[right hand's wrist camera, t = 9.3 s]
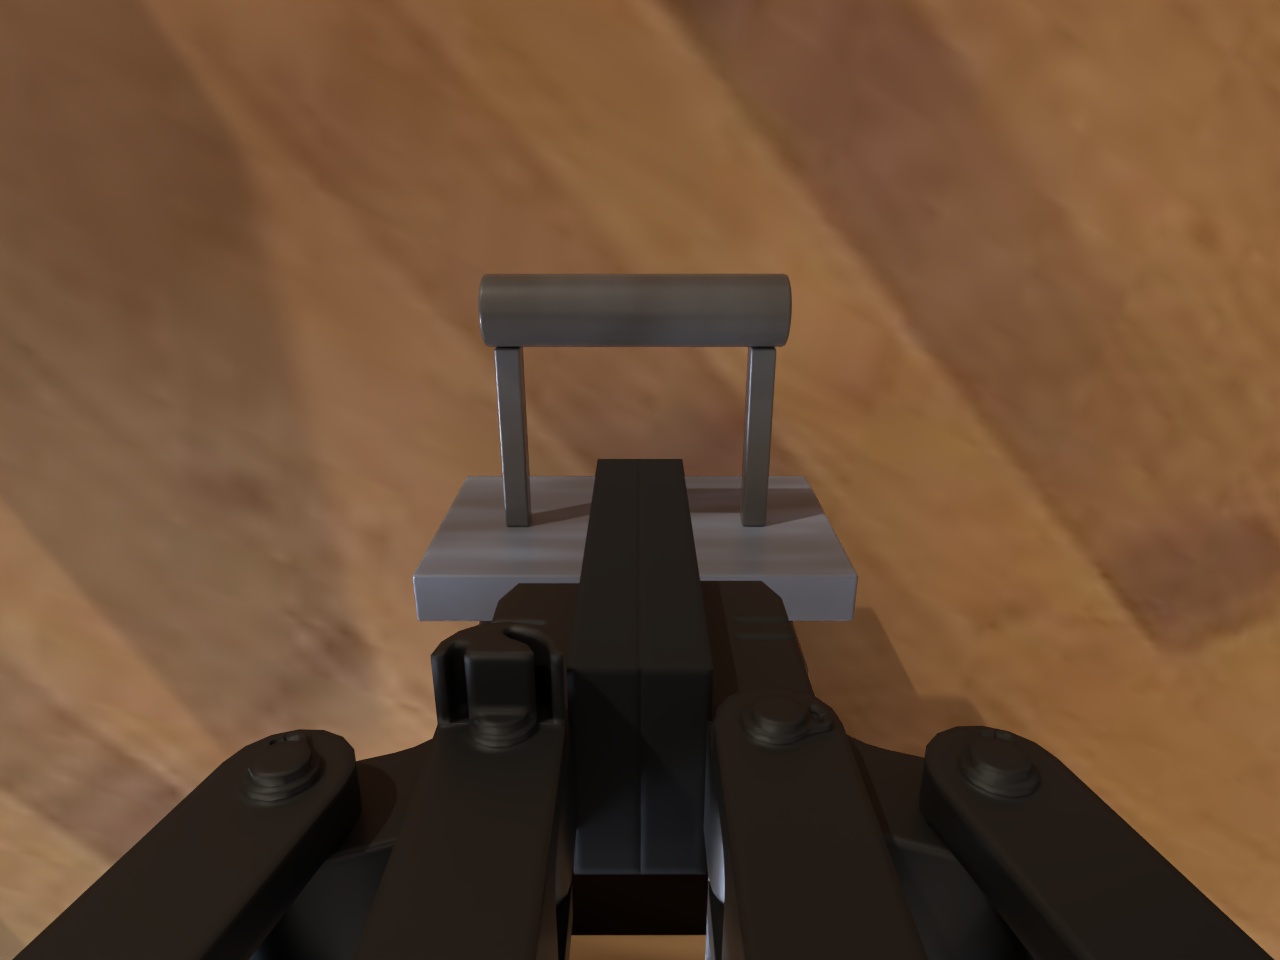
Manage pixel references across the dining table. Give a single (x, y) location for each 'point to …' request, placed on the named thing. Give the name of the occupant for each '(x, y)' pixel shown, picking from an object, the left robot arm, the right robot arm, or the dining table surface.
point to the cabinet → (637, 947)
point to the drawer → (560, 505)
